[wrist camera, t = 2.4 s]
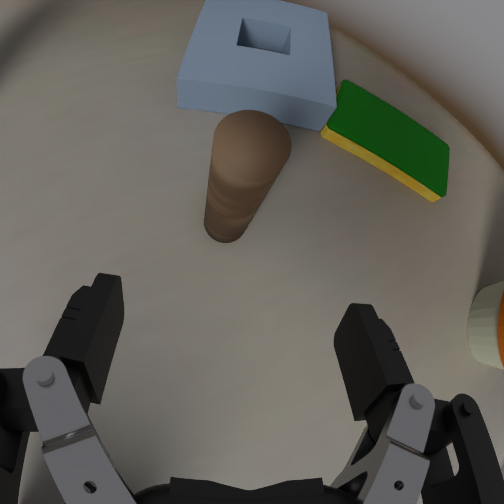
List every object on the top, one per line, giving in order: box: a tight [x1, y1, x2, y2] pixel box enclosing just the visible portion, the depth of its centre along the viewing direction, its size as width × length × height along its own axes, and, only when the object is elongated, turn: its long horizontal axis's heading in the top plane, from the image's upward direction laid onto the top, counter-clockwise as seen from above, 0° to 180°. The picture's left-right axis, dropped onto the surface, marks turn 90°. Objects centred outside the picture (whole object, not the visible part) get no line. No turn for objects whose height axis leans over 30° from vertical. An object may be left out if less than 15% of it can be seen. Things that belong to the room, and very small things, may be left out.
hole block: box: [177, 0, 337, 131], centre depth 26 cm, size 13×15×4 cm
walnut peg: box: [204, 110, 291, 243], centre depth 18 cm, size 3×3×12 cm
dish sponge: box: [320, 80, 450, 202], centre depth 28 cm, size 7×14×2 cm, turn 67°
